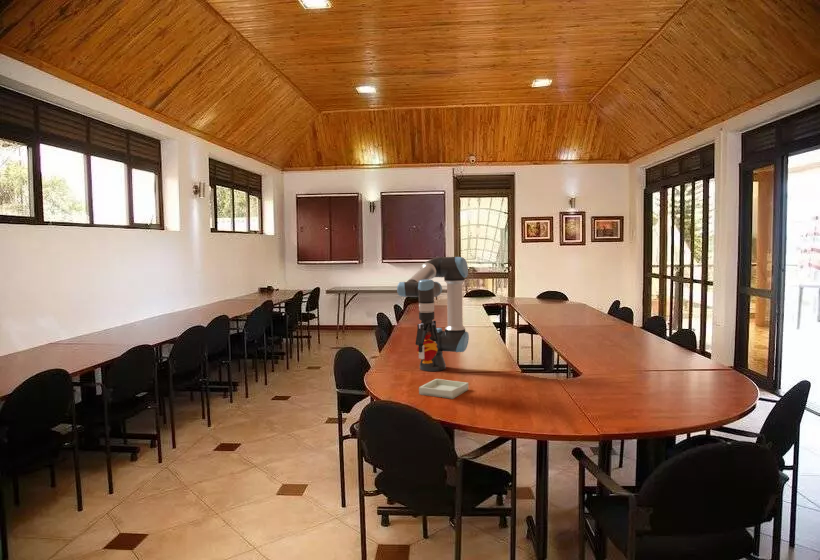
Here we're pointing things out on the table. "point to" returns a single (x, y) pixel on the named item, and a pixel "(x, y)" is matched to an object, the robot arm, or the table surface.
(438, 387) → the bin
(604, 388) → the table surface
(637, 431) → the table surface
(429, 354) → the potion bottle
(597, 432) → the table surface
